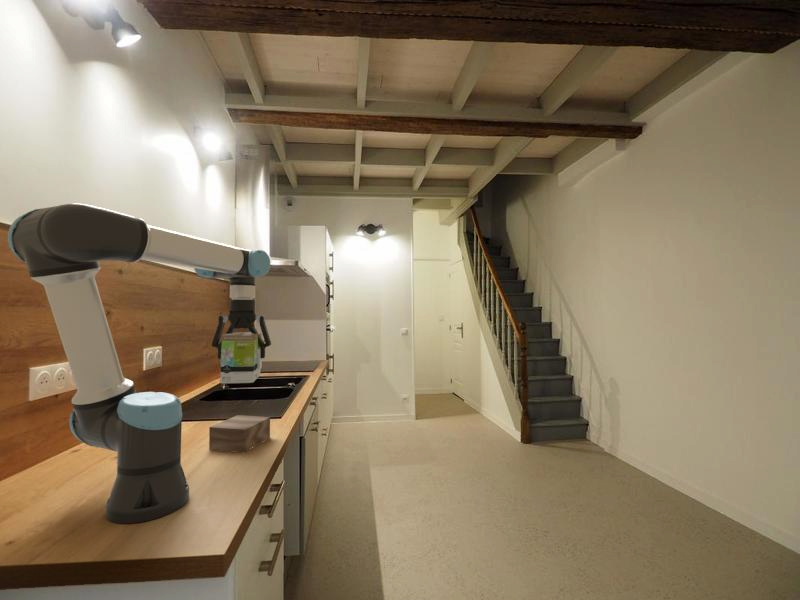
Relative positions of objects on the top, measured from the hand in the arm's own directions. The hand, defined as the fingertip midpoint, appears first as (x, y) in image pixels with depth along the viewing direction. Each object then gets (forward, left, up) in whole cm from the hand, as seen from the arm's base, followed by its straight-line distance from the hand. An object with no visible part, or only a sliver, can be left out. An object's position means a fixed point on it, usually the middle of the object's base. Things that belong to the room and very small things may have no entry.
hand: (241, 369), depth 125 cm
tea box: (0, 0, -3) cm, 3 cm away
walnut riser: (0, 0, -24) cm, 24 cm away
